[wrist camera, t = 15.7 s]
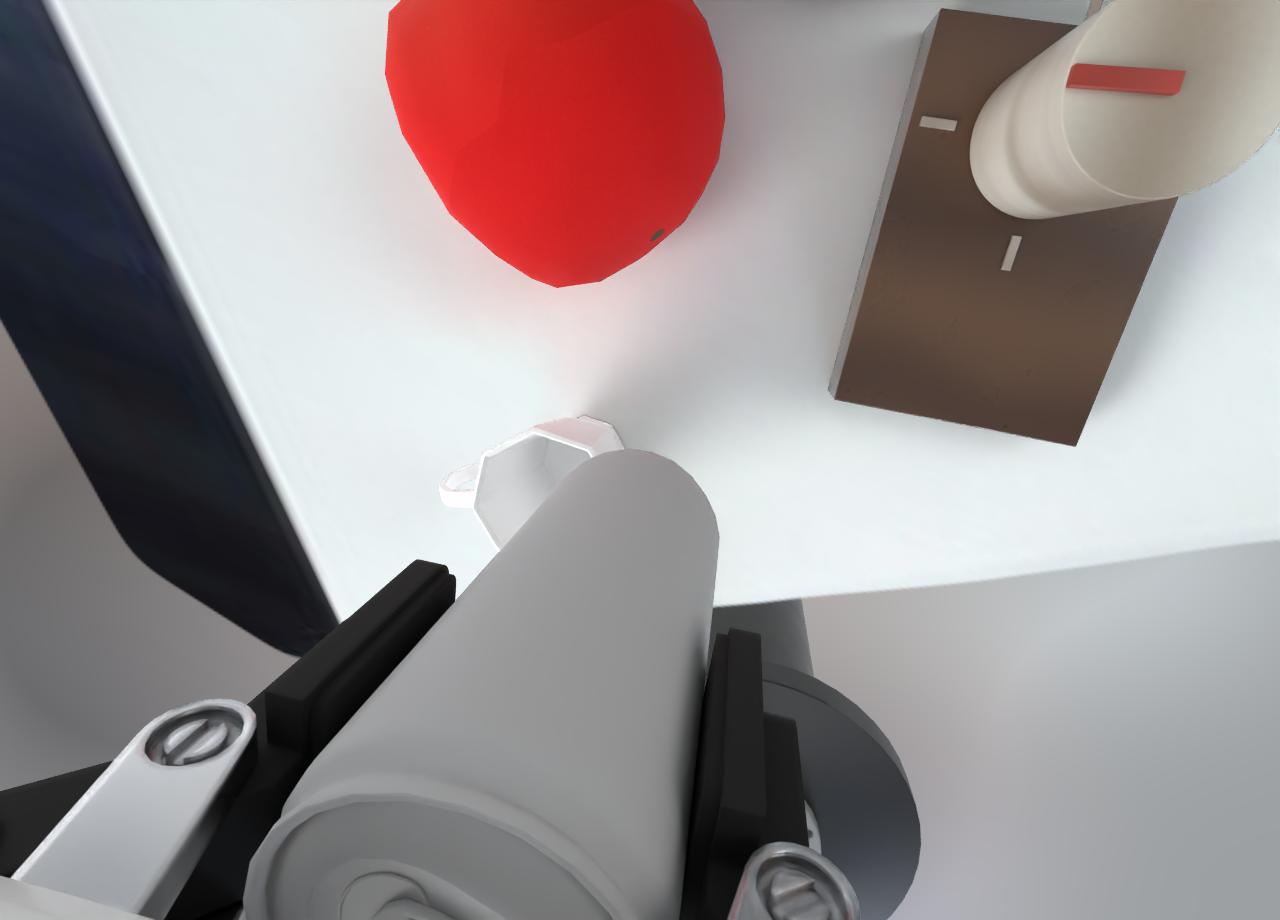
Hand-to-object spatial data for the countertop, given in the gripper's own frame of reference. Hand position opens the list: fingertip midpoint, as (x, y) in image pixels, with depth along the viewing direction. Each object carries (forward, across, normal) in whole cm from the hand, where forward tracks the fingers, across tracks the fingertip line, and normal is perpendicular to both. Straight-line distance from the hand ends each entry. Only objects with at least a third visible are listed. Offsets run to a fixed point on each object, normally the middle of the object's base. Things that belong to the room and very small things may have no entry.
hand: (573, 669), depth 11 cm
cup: (+23, +7, +4) cm, 25 cm away
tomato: (+23, +7, -13) cm, 27 cm away
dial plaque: (+23, -12, -10) cm, 28 cm away
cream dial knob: (+21, -13, -14) cm, 28 cm away
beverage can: (+7, 0, 0) cm, 7 cm away
